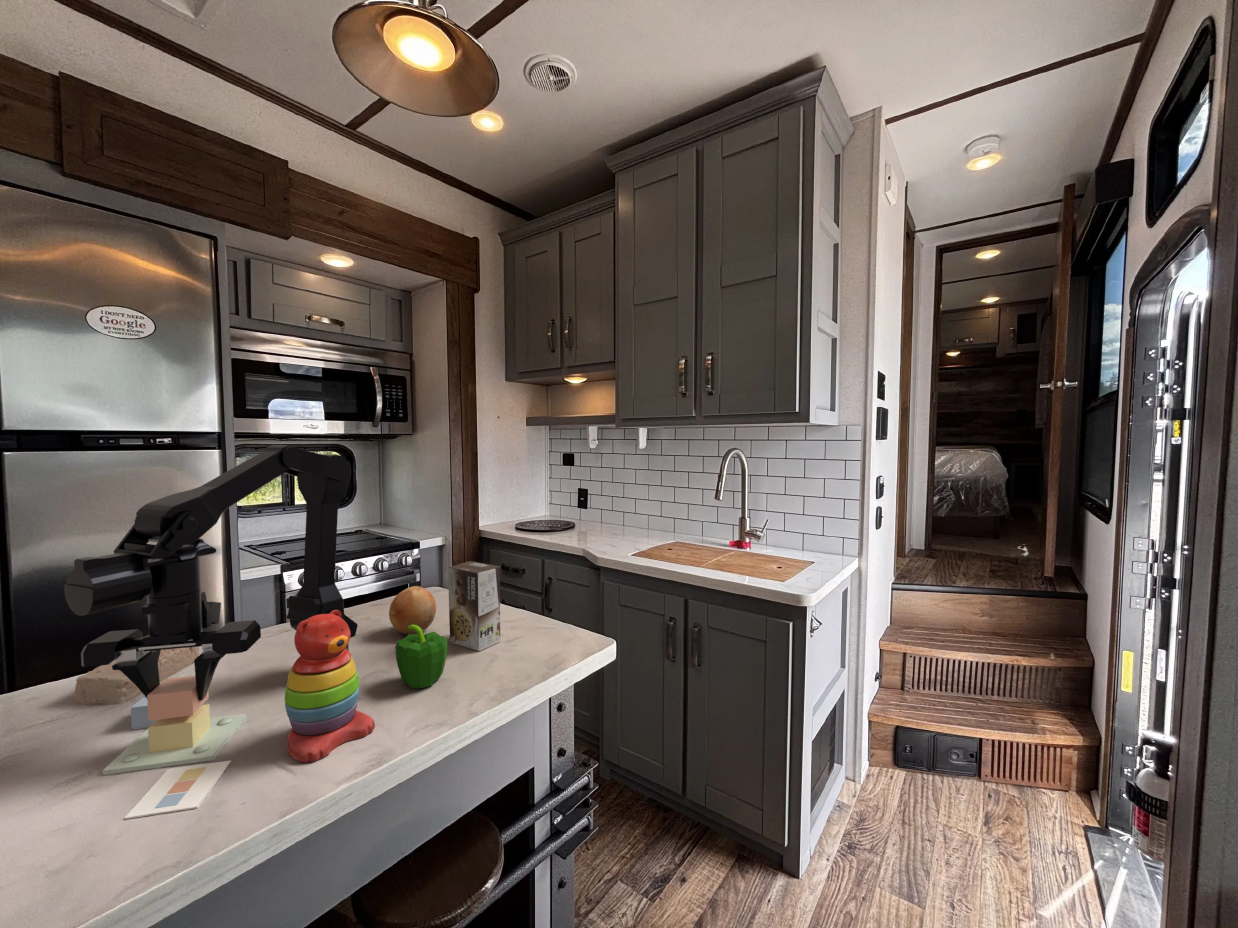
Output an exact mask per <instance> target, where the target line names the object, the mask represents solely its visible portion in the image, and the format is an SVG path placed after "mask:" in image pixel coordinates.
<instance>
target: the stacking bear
mask: <svg viewBox="0 0 1238 928" xmlns="http://www.w3.org/2000/svg"><path fill="white" fill-rule="evenodd" d="M296 629H297V631H296V630H295V634H294V641H293V642H294V647H295V649H296V652H297V653H298V655H299V656H298V657H297V659H296V660H295V662H294V663H293V665H292V666H291V667H290V669H289V672H288V676H287V681H286V682H287V683H286V687H285V691H284V706H285V707H284V709H285V711H286V715H287V717H288V721H289V724H290V726H291V729H290V730H289V733H288V736H287V740H286V749H287V752H288V754H289V755H290V757H292V758H293V759H294V760H295V761H298V762H300V763H304V764H305V763H306V764H307V763H313V762H316V761H319V760H321V759H324V758H325V757H327V756H329V754H330V753H331V752H332V751H333V750H335V748H337V747H338V746H340V745H342V744H344V743H347V742H349V741H354V740H357V739H361V738H364V737H366V736H367V735H369V734H371V733H373V732H374V729H375V728H376V723H375V721H374V719H373V718H372V717H371V716H370V715H368V714H367V713H364V712H361V711H360V710H357V707H358V699H359V695H360V678H359V673H358V670H357V668H356V664H355V661H354V659H353V657H352V653H351V652H350V651H348V650H347V649H345V648H346V647H347V645H349V642H350V639H351V638H350V636H351V633H350V629H349V627H348V625H347V623H346V622H345V621H344V620H343V619H342V618H341V612H340V611H338V610H333V611H331V612H330V613H329V614H320V615H315V616H312V617H310V618H308V619H306V620H305V621H302V622H300V623H299V624H298V625H297V628H296Z"/></svg>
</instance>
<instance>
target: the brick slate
mask: <svg viewBox="0 0 1238 928" xmlns="http://www.w3.org/2000/svg"><path fill="white" fill-rule="evenodd" d="M130 712H131V713H130V716H131V717H130V718H131V730H138V729H145V728H147V729H148V727H149V726H150V725H151V724H152V723H153V722H155V721H156V720H152V721H148V702H147V698H146V697H145V696H144V695H143V697H142V698H141V699H139V700H138V701H137V702H136V703H134V705H132V706H131V707H130Z"/></svg>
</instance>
